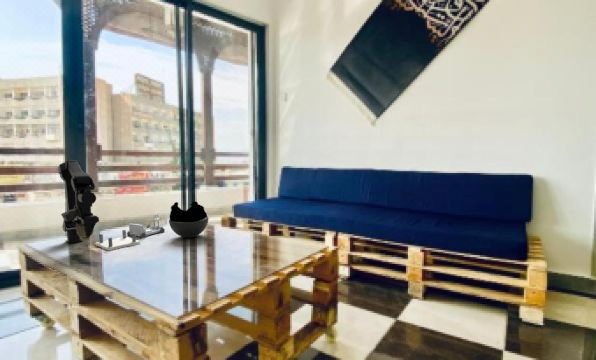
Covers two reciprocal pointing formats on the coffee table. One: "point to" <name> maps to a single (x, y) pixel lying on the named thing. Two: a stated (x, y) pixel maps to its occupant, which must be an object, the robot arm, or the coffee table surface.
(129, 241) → the peg stand
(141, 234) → the toy car
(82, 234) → the dark brown ornate lampshade
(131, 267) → the coffee table surface
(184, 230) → the coal bowl
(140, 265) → the coffee table surface
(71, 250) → the coffee table surface
